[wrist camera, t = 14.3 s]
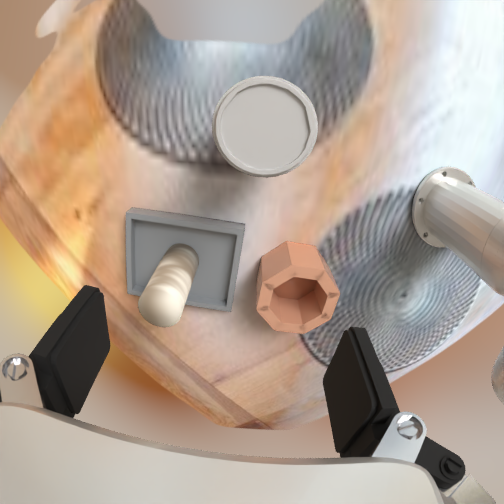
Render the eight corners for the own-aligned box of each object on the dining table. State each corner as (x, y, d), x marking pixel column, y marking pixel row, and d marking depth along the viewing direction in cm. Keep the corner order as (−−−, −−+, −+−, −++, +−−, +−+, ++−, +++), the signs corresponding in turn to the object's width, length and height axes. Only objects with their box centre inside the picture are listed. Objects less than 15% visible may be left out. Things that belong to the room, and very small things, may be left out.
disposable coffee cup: (287, 169, 38) (300, 193, 27) (215, 148, 37) (197, 163, 26) (311, 100, 34) (334, 95, 23) (236, 77, 33) (228, 61, 22)
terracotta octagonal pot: (334, 249, 43) (347, 273, 36) (316, 306, 47) (324, 335, 41) (265, 237, 42) (266, 261, 36) (253, 298, 46) (252, 327, 40)
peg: (200, 246, 42) (182, 294, 31) (197, 277, 44) (180, 330, 33) (165, 241, 42) (137, 286, 31) (164, 272, 44) (139, 322, 33)
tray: (245, 224, 41) (244, 229, 39) (232, 303, 47) (231, 311, 45) (131, 207, 40) (125, 212, 38) (132, 286, 46) (127, 293, 44)
